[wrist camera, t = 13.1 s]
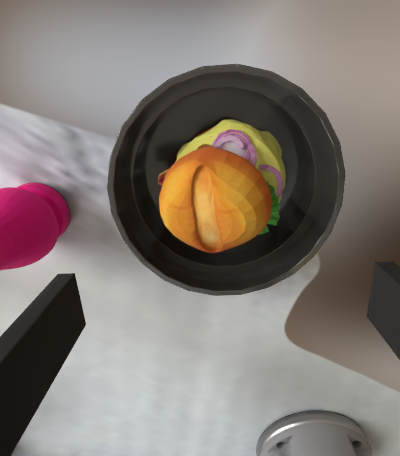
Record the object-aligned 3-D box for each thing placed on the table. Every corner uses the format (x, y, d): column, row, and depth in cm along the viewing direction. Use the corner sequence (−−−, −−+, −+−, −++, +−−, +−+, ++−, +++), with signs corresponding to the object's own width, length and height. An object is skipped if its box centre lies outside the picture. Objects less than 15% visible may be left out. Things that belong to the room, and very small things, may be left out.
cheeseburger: (308, 179, 30) (319, 234, 22) (221, 232, 35) (204, 292, 27) (244, 90, 28) (230, 114, 19) (160, 161, 33) (119, 204, 24)
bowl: (311, 258, 34) (333, 291, 28) (140, 265, 35) (126, 299, 29) (325, 65, 27) (357, 54, 21) (113, 80, 28) (87, 74, 22)
